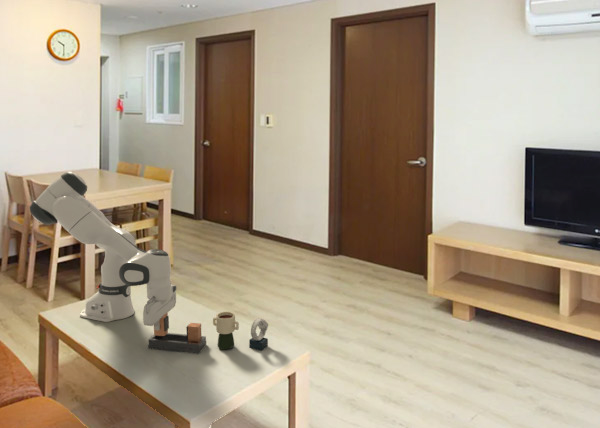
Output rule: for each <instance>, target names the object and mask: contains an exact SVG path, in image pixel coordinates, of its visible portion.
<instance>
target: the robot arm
mask: <svg viewBox="0 0 600 428" xmlns="http://www.w3.org/2000/svg"><path fill="white" fill-rule="evenodd" d="M87 191H88V185H87V182H86V181H85V179H84V178H83V177H82V176H81V175H80V174H77V173H75V172H73V171H66V172H64V173H63V174H61V175H60V177H58V178H57V179H56V180H54V181H53V182H52V183H50V184H49V185H47V187H46V189H44V190H43V192H41V194H40V195H39V196H38V197H37V198H36V200H33V202H32V203H31V204H30V206H29V212H30V213H31V216H32V217H33V218H34V220H35V221H37V222H38V223H41V224H42V225H46V226H51V225H53V224H58V223H59V224H60V225H61V227H63V229H64V230H65V231H67V232H68V234H70V235H71V236H72V237H73V238H74V239H76V240H77V241H78V242H80V243H82V244H84V245H95V246H97V247H98V248H99V249H101V250H103V251H104V254H105V255H104V258H103V259H104V261H103V263H102V264H101V266H100V273H101V282H100V283H99V284H98V285H97V286H96V289H97V290H98V291H97V292H96V293H94V294H93V295H92V296H91V297H90V298H88V299H87V300H86V303H85V308H83V309H82V310H81V312H80V313H79V317H81V318H83V319H89V320H94V321H99V322H104V323H110V322H112V321H116V320H117V321H118V320H122V319H123V320H124V319H126V318H129V317H131V316H132V315H134V314H135V308H134V305H133V301H132V295H131V292H132V291H131V290H132V289H131V288H132V287H135V286H136V287H137V286H142V285H146V297H147V299H148V300H147V301H146V304H145V305H144V307H143V312H142V314H143V315H142V316H143V317H142V318H143V319H142V320H143V321H142V323H143V325H144V326H149V327H152V326H153V327H154V326H155V330H160V329H161V325H160V324H159V322H160V319H161V318H162V317H163V316H164V315H165V314H166V313H167V316H169V314H168V313H169V312H170V311H171V310H173V309H174V308H175V307H176V303H177V292H176V291H177V290H178V289H177V287H178V285H176V284H172V281H171V275H172V267H171V266H172V265H171V258H170V256H169V253H168V252H167V251H164V250H162V249H160V248H159V249H158V248H152V249H148V250H144V249H142V248H139V246H136V245H137V243H136V239H135V237H134V236H133V234H131V232H130V231H128V230H126V229H123V228H122V227H118V226H116V225H114V223H112V222H111V221H110V220H109V219H108V218H107V217H106V215H105V214H104V212H103V211H101V210H100V209H99V208H98V207H96V206H95V205H94V204H93V203H92V202H91V201H90V200H88V199H87V198H86V197H85V195H86V192H87Z"/></svg>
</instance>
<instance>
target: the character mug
mask: <svg viewBox="0 0 600 428" xmlns="http://www.w3.org/2000/svg"><path fill="white" fill-rule="evenodd" d="M212 323H213V324H212V325H213V326H215V327H216V332H217V333H218V337H217V338H218V339H217V347H218V348H219V349H221V350H228V349H232V348H234V347H235V339H234V334H233V332H235V330H236V331H238V330H239V327H240V326H239V325H240V323H239V321H236V314H235V313H234V312H233V311H221V312H218V313H217V314H216V315H215V316H214V317H212Z"/></svg>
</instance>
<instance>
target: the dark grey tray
mask: <svg viewBox="0 0 600 428" xmlns="http://www.w3.org/2000/svg"><path fill="white" fill-rule="evenodd" d="M185 328H186V334H183V333H176V332H175V333H173V332H168V333H167V334H166V335H165V336H157V335H154V334H152V335H151V336H150V337H149V338H148V344H147V349H149V350H155V351H156V350H158V351H166V352H175V353H184V354H185V353H186V354H194V355H200V353H201V352H202V351H203V349H204V348H205V347H206V346H207V338H206V337H207V336H204V335H202V323H198V322H190V323H189V324H188V325H187V326H186V327H185Z"/></svg>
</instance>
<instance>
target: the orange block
mask: <svg viewBox="0 0 600 428" xmlns="http://www.w3.org/2000/svg"><path fill="white" fill-rule="evenodd" d="M169 316H170V315H168V316H167V313H166V314H165V315H164V316H163V317H162V318H161V319H160V322H159V324H160V325H161V329H160V330H155V326H154V325H153V335H157V336H165V335H166V334H167V333H169V332H168V330H169V329H170V324H169V322H170V321H169V318H170V317H169Z"/></svg>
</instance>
